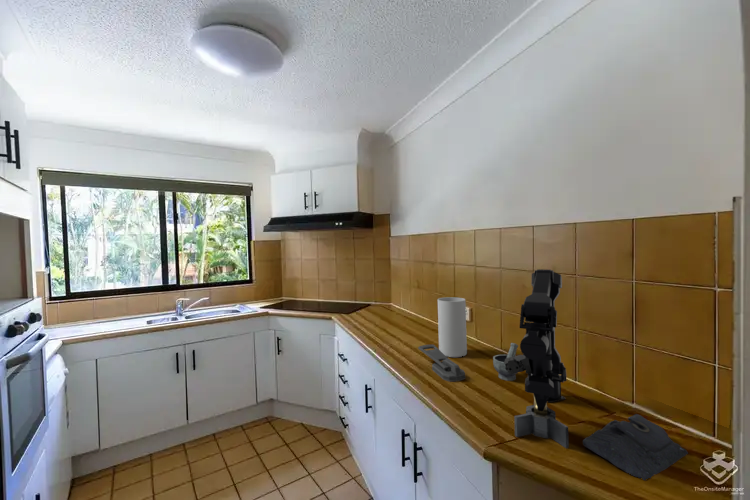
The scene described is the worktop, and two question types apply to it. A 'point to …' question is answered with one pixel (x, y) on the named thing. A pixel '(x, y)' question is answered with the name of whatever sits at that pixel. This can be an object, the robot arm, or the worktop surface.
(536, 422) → the grey hollow finned part
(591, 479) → the worktop surface
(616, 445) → the dark slate chunk
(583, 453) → the worktop surface
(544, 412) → the brass pin
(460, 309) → the cylinder vase
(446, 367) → the zipper pull
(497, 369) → the mortar and pestle
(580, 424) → the worktop surface
